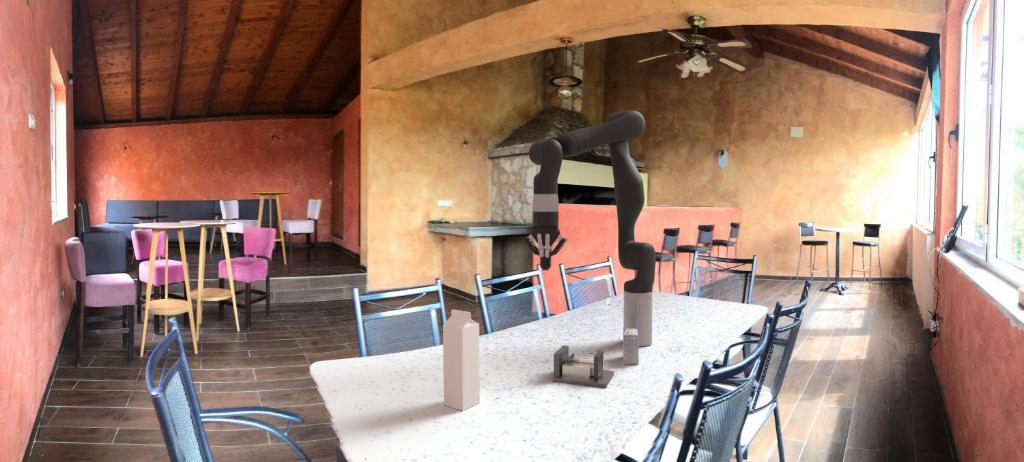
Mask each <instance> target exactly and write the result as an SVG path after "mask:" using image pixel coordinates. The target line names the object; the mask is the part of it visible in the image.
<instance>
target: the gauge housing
mask: <svg viewBox="0 0 1024 462" xmlns="http://www.w3.org/2000/svg"><path fill="white" fill-rule="evenodd" d="M569 353H570V350H569V345H566V344H565V345H564V344H563V345H561V347H560V348H559V349H557V350H556V351H555V352H554V353H553V377H552V382H555V383H556V382H557V383H565V384H571V385H578V386H579V385H580V386H587V387H593V388H594V387H595V388H600V389H601V388H603V389H607V387H608V385H609V384H610V382H611V381H612V379H613V377H614V376H615V371H614V370H608V369H603V373H602V374H601V376H600V377H599V378H598V379H596V378H594V376H591V367H588V366H579V365H575V364H567V363H566V359H567V358H568V357H569V356H570V354H569ZM572 362H574V363H583V364H592V365H594V360H586V359H580V358H575V357H574V358H573V359H572Z"/></svg>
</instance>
